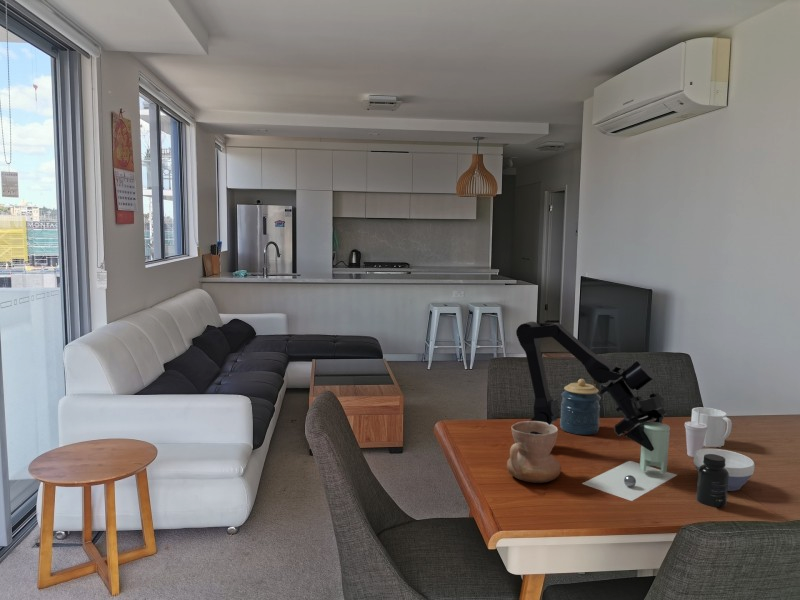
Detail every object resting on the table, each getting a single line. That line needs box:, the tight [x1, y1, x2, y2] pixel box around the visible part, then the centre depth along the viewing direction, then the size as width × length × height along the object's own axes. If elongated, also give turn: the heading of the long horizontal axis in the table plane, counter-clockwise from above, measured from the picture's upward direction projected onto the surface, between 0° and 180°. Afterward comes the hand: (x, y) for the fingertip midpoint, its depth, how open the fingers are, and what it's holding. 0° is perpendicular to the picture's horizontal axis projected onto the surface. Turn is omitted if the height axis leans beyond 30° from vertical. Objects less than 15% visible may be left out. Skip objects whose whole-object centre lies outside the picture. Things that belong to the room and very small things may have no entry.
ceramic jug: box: [506, 420, 562, 484], centre depth 169 cm, size 18×14×14 cm
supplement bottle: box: [695, 454, 729, 510], centre depth 155 cm, size 7×7×12 cm
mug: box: [690, 406, 733, 448], centre depth 200 cm, size 13×10×10 cm
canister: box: [559, 378, 602, 436], centre depth 211 cm, size 13×13×18 cm
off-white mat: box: [581, 460, 678, 502], centre depth 168 cm, size 26×14×1 cm, turn 132°
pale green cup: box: [639, 422, 671, 474], centre depth 171 cm, size 7×7×12 cm
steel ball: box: [624, 475, 636, 487], centre depth 163 cm, size 3×3×3 cm
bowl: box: [693, 448, 755, 492], centre depth 167 cm, size 14×14×8 cm
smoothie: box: [684, 411, 708, 458], centre depth 188 cm, size 6×6×14 cm
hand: (659, 447), depth 170 cm, fingers closed on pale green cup, 7 cm apart
